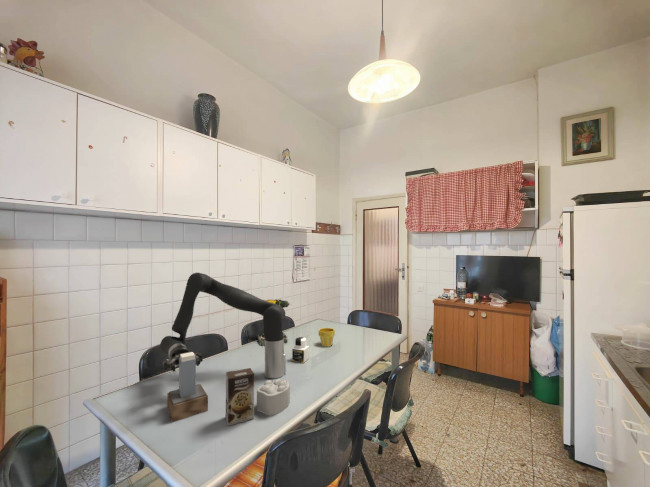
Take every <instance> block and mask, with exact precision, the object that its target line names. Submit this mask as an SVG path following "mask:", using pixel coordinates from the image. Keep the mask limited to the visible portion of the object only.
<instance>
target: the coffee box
mask: <svg viewBox="0 0 650 487" xmlns="http://www.w3.org/2000/svg"><path fill="white" fill-rule="evenodd" d="M253 419H255V373H254V371H253V370H252V368H250V367H249V368H248V367H247V368H244V369H243V368H241V369H237V370H231V371H227V372H225V420H226V424H227V426H232V425H236V424H240V423H244V422H246V421H250V420H253Z"/></svg>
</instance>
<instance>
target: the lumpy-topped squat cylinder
mask: <svg viewBox="0 0 650 487" xmlns="http://www.w3.org/2000/svg"><path fill="white" fill-rule="evenodd" d="M290 403H291V386H290V381H288V380H285V379H280V378H276V379H274V380H270V379H267V380H265V381H264V383H263V384H262V385H259V387H257V389H256V411H257V412H260V413H263V414H264V415H265V416H269V417H270V416H275V415H278V414H279V413H282V412H283V411H285V410H287V409H288V407H289V405H291V404H290Z"/></svg>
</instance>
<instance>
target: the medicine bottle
mask: <svg viewBox="0 0 650 487" xmlns="http://www.w3.org/2000/svg"><path fill="white" fill-rule="evenodd" d="M294 342H295V343H294V345H295V346H293V347H292V348H291V349H292V350H291V351H292V353H291V356H292V358H291V359H292V362H294V363H300V362H301V364H305V363H306V362H308V360H309V359H310V345H307V338H306V337H304V336H299V337H295V340H294Z"/></svg>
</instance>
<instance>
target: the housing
mask: <svg viewBox="0 0 650 487" xmlns="http://www.w3.org/2000/svg"><path fill="white" fill-rule="evenodd" d="M194 354H195V353H194V352H193V351H190V352H189V353H184V354H180V358H179V366H178V389H179V394H180V396H181V398H182V397H185V396H189V395H192V394H196V384H197V383H196V382H197V381H196V380H197V377H196V376H197V375H196V374H197V370H196V369H197V366H196V359H195V355H194Z"/></svg>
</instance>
